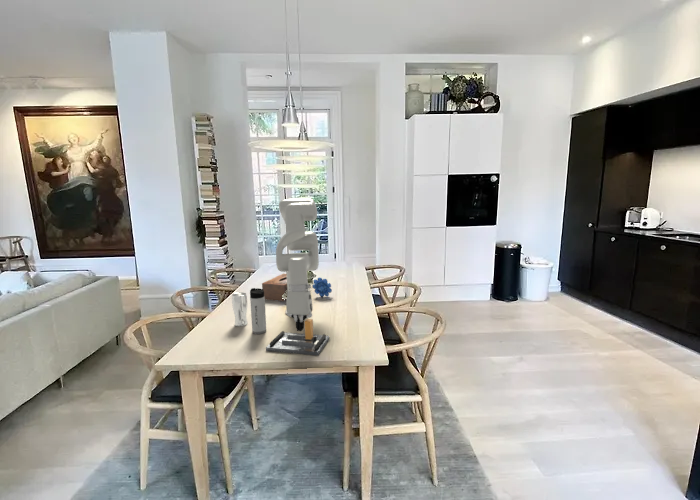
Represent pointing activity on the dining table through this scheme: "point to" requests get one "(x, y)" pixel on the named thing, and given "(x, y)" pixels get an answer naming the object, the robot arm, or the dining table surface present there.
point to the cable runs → (284, 332)
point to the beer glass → (240, 308)
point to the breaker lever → (309, 330)
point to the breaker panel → (297, 344)
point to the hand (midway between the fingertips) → (300, 329)
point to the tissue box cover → (275, 288)
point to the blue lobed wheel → (322, 287)
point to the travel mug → (258, 311)
